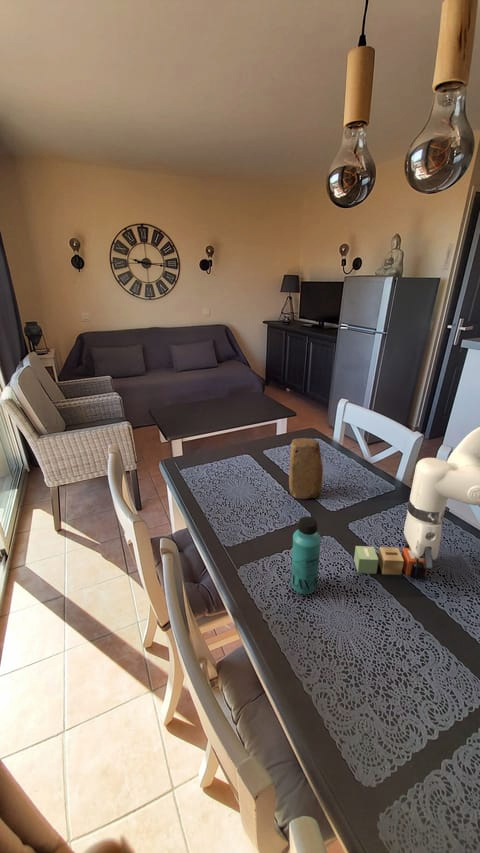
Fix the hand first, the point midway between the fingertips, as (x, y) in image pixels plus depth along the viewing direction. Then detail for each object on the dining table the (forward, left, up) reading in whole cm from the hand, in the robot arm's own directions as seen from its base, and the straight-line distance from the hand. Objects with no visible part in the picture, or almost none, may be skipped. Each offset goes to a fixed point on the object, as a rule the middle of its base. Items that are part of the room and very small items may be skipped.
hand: (412, 567), depth 91 cm
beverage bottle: (+28, +8, 0) cm, 29 cm away
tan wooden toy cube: (+6, 0, 0) cm, 6 cm away
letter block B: (+12, 0, 0) cm, 12 cm away
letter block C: (0, 0, 0) cm, 0 cm away
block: (+25, -32, 0) cm, 40 cm away
